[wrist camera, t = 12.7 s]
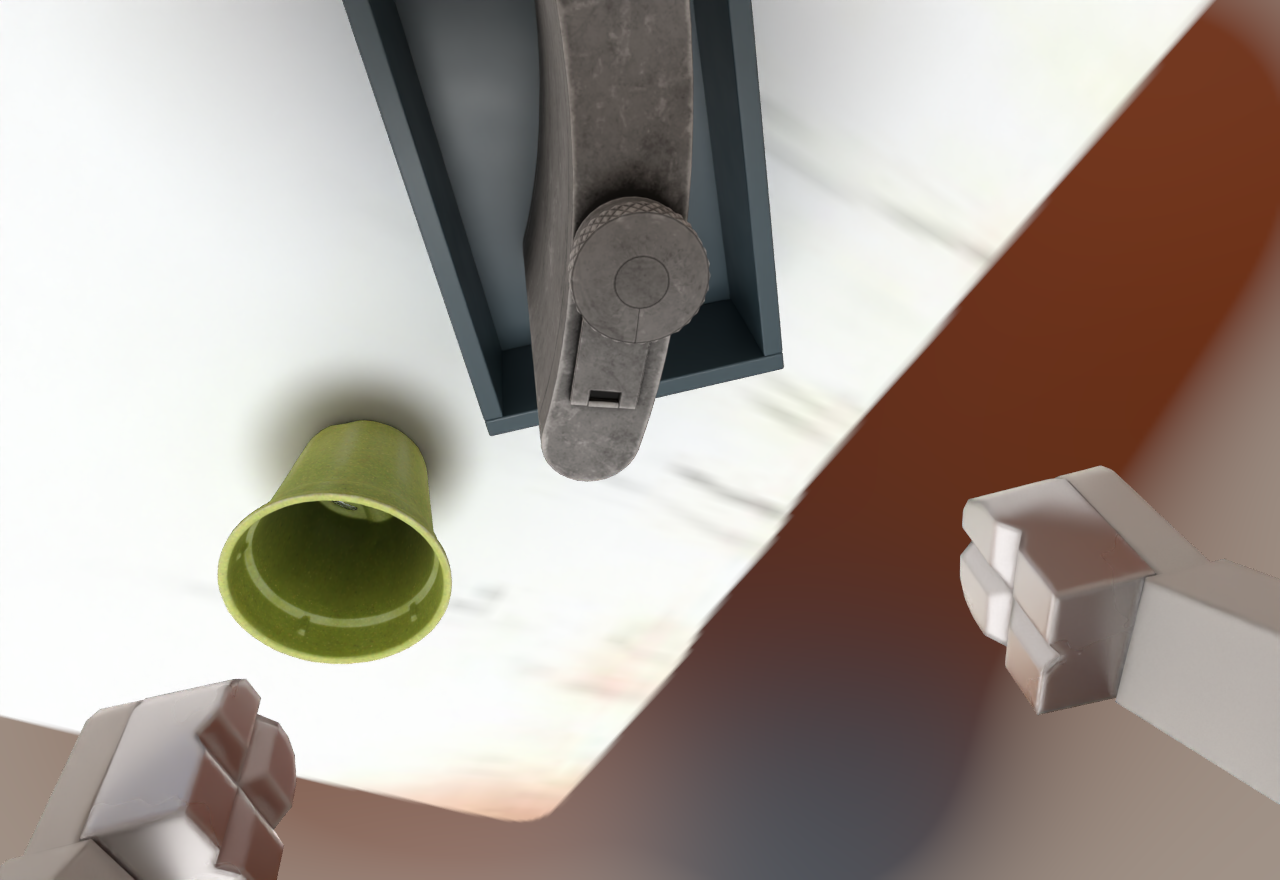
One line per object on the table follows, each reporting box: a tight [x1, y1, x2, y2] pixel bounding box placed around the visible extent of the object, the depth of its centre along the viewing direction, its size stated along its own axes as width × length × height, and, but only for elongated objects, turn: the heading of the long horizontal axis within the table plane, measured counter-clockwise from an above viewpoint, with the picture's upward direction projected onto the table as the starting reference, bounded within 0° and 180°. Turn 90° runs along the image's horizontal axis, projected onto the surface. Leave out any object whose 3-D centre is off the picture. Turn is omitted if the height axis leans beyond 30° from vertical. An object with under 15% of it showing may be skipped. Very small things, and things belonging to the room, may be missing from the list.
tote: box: [342, 0, 784, 436], centre depth 31 cm, size 22×13×7 cm, turn 10°
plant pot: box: [218, 420, 452, 664], centre depth 39 cm, size 9×9×9 cm
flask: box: [522, 0, 710, 481], centre depth 26 cm, size 4×14×18 cm, turn 175°
